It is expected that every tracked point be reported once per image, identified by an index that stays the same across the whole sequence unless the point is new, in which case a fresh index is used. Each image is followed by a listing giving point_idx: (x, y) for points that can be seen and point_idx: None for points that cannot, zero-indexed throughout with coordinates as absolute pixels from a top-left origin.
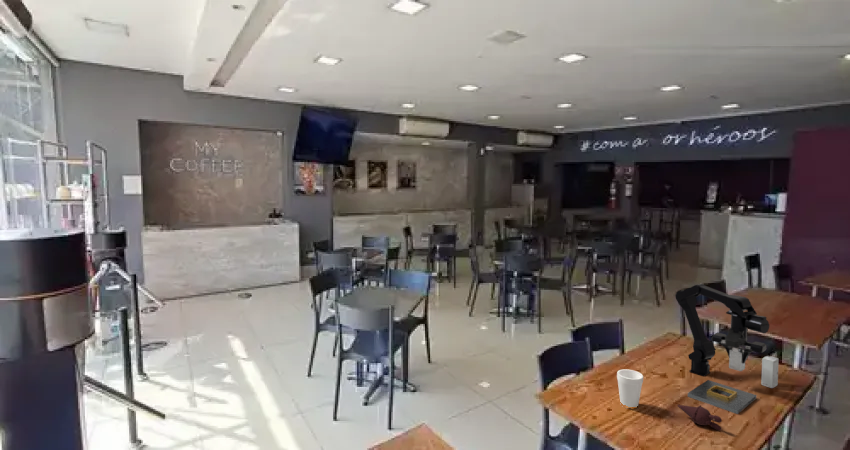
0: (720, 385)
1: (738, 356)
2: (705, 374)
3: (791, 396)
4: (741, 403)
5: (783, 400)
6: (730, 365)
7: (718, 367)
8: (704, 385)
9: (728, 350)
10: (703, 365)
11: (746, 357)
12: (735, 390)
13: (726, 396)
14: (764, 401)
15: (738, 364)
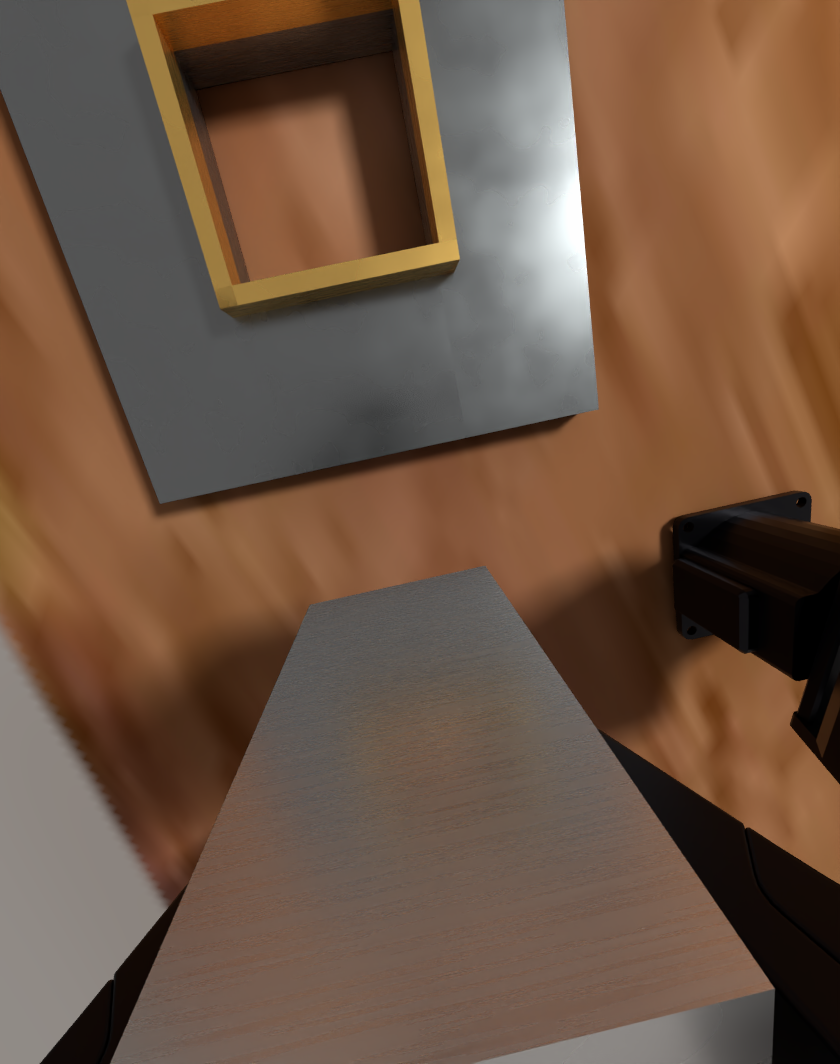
0: (457, 392)
1: (307, 834)
2: (680, 551)
3: (117, 782)
4: (47, 110)
5: (81, 668)
6: (473, 592)
7: (682, 783)
8: (544, 213)
9: (789, 940)
10: (777, 574)
11: (141, 977)
12: (313, 416)
13: (174, 10)
14: (113, 508)
15: (335, 654)
